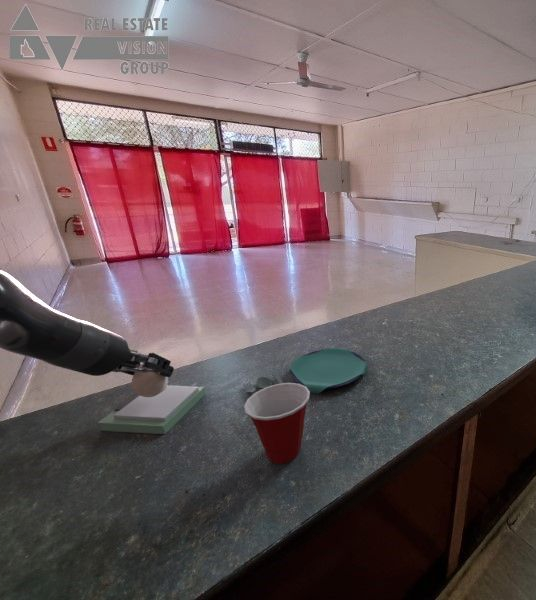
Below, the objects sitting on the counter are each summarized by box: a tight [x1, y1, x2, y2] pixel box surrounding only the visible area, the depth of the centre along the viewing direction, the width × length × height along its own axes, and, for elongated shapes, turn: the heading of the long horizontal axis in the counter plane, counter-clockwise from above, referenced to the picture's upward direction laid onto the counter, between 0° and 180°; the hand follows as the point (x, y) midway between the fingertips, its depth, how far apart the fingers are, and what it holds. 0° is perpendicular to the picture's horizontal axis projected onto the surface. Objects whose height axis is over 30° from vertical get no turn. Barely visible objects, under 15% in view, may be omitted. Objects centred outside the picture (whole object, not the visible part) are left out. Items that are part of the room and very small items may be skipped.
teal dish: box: [242, 347, 369, 397], centre depth 81 cm, size 20×30×2 cm, turn 130°
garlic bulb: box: [130, 363, 169, 397], centre depth 65 cm, size 7×6×8 cm
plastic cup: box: [243, 382, 311, 465], centre depth 57 cm, size 11×11×12 cm
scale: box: [97, 384, 207, 435], centre depth 68 cm, size 13×13×3 cm
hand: (154, 371), depth 67 cm, fingers closed on garlic bulb, 6 cm apart
